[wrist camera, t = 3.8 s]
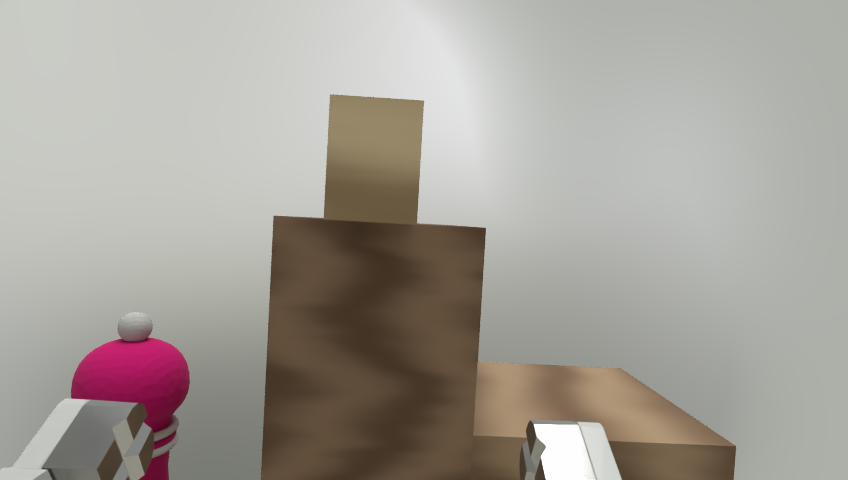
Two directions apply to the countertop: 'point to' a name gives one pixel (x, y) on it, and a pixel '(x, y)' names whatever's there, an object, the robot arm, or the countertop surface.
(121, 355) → the pepper mill
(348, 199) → the tan rectangular block
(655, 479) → the step shelf
